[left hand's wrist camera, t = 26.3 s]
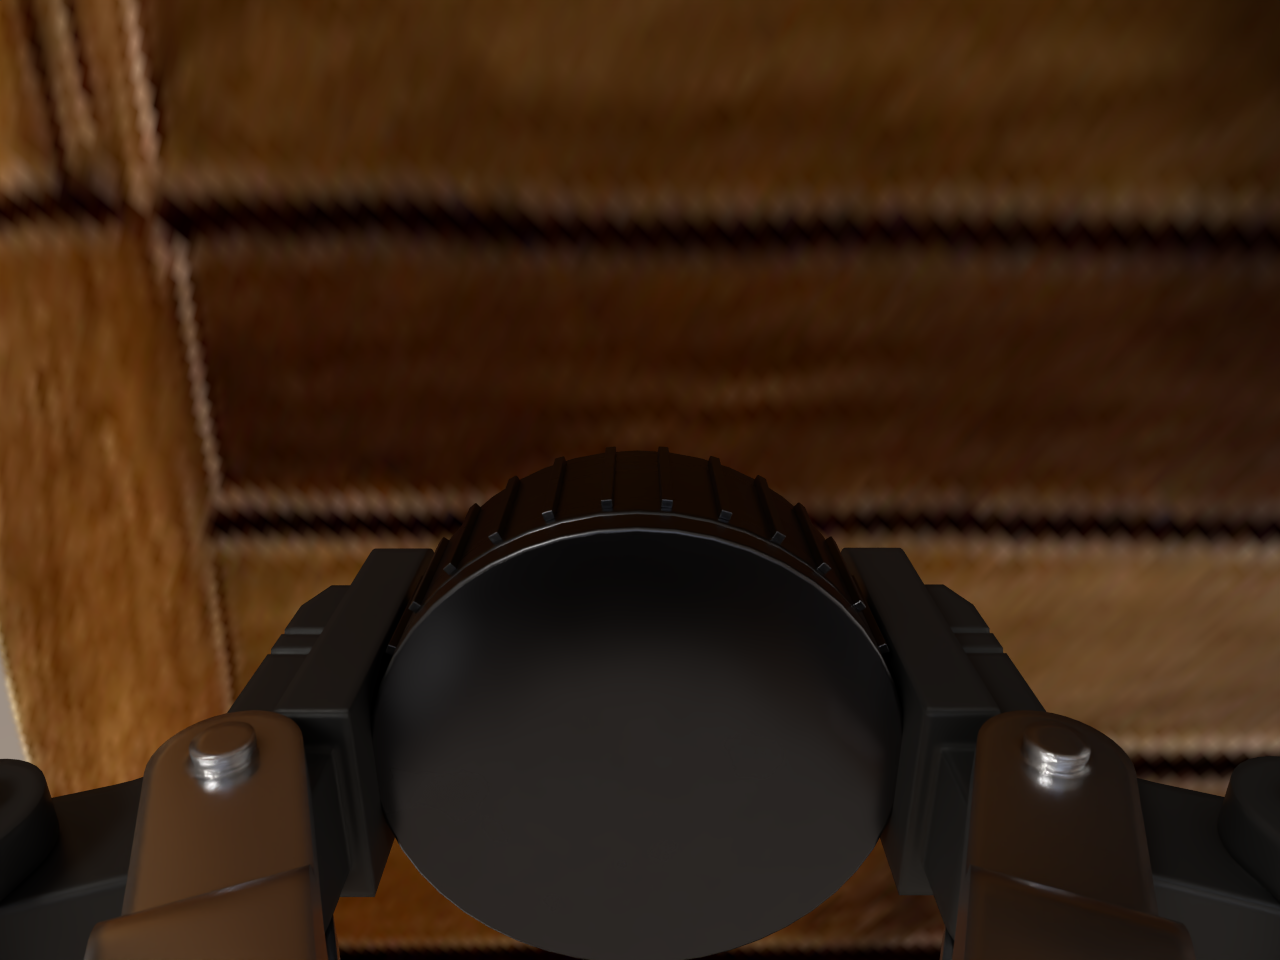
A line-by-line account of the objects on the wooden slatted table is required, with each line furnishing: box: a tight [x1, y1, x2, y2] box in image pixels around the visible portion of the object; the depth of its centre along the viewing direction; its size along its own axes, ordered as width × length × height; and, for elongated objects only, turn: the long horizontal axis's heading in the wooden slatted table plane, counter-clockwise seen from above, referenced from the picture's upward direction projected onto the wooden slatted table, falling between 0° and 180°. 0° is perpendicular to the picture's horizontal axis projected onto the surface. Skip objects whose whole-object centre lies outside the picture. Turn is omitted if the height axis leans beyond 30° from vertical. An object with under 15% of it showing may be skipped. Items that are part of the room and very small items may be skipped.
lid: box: [371, 447, 903, 960], centre depth 10 cm, size 6×6×2 cm
